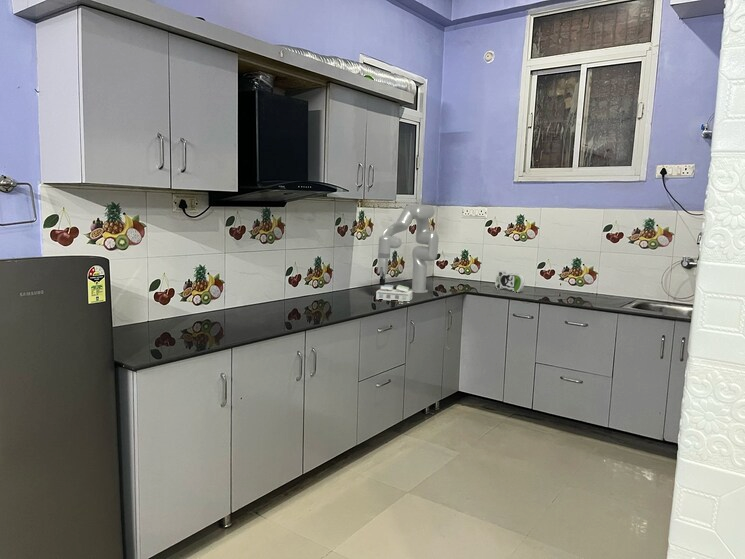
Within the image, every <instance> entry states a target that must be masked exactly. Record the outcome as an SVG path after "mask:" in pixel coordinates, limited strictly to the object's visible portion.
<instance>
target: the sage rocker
mask: <svg viewBox="0 0 745 559" xmlns="http://www.w3.org/2000/svg"><path fill="white" fill-rule="evenodd" d="M395 288H396V289H395V290H402V291H405V292H408V291H409V290H410V287H409V286H406V285H405V286H404V285H401V284H398V285H397V286H396V287H395Z"/></svg>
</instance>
